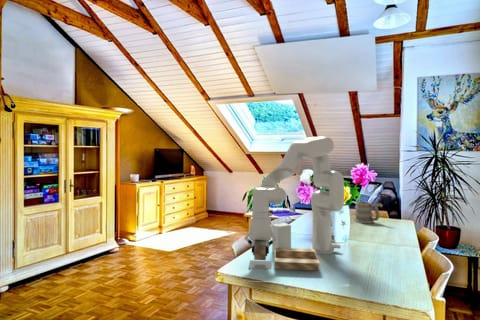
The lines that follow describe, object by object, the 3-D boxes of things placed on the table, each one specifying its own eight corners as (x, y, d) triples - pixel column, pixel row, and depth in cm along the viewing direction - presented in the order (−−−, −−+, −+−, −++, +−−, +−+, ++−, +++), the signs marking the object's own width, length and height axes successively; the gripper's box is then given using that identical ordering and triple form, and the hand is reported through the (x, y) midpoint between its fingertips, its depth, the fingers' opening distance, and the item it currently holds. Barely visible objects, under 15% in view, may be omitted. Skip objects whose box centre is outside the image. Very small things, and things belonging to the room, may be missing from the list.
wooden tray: (314, 259, 160) (314, 248, 160) (319, 274, 140) (320, 263, 140) (274, 257, 162) (274, 247, 162) (274, 272, 142) (274, 261, 142)
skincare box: (285, 250, 174) (285, 222, 173) (291, 253, 168) (291, 224, 168) (271, 252, 170) (271, 223, 170) (277, 255, 165) (277, 226, 164)
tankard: (351, 221, 245) (351, 201, 245) (359, 219, 254) (359, 199, 253) (377, 226, 230) (378, 204, 230) (385, 223, 239) (386, 202, 239)
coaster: (271, 262, 155) (271, 261, 155) (271, 270, 145) (271, 268, 145) (250, 261, 156) (250, 260, 156) (248, 269, 146) (248, 267, 146)
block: (265, 255, 153) (266, 238, 153) (265, 260, 146) (265, 242, 146) (255, 254, 154) (255, 237, 154) (254, 259, 147) (254, 241, 147)
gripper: (279, 214, 153) (278, 252, 153) (242, 213, 154) (242, 251, 155) (279, 217, 145) (279, 258, 146) (241, 216, 147) (240, 256, 147)
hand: (260, 254), depth 150 cm, fingers closed on block, 5 cm apart
